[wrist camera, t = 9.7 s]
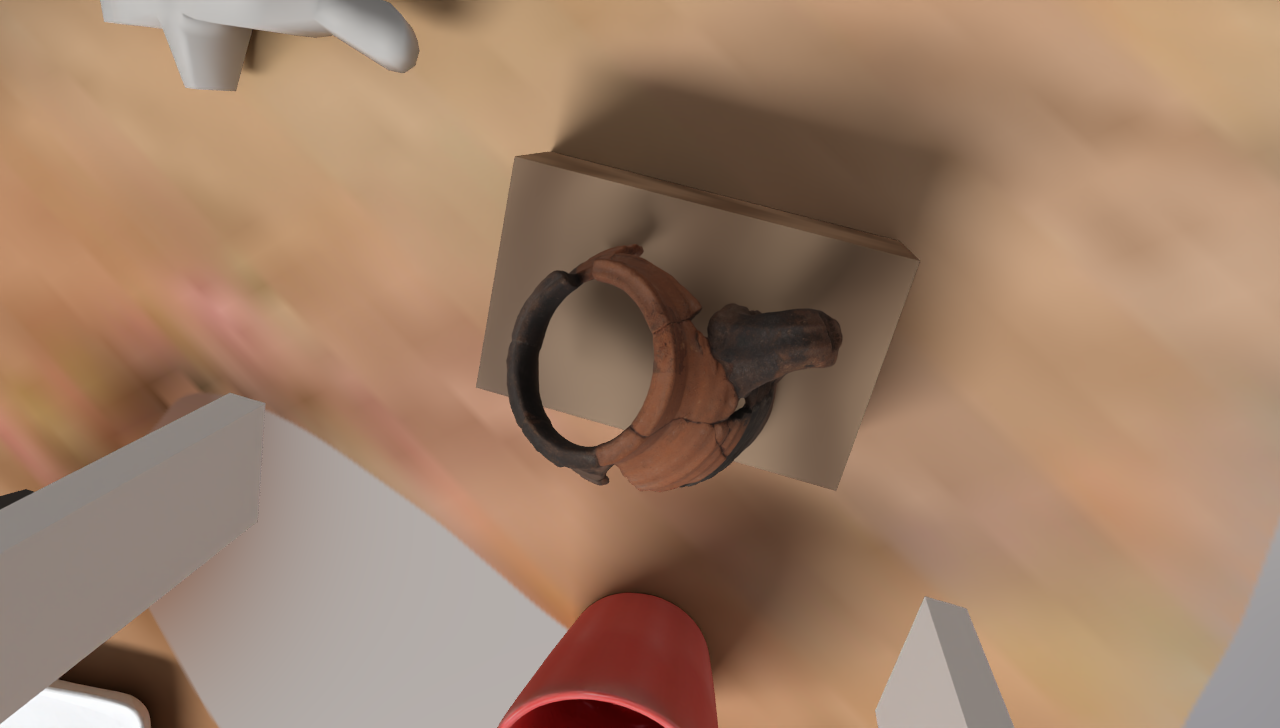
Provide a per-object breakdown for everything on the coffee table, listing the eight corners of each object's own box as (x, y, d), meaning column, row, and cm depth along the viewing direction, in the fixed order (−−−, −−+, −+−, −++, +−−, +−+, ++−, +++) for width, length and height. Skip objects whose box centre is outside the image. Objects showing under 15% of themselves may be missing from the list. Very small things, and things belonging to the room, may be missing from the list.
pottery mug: (640, 502, 34) (513, 526, 27) (595, 304, 36) (466, 279, 29) (905, 435, 28) (827, 444, 21) (833, 199, 29) (741, 136, 23)
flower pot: (535, 704, 44) (473, 855, 35) (558, 544, 41) (495, 667, 31) (713, 750, 43) (697, 920, 34) (753, 590, 39) (747, 732, 30)
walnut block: (513, 353, 38) (476, 387, 33) (550, 151, 34) (514, 156, 29) (828, 442, 36) (836, 490, 31) (899, 240, 33) (920, 260, 28)
